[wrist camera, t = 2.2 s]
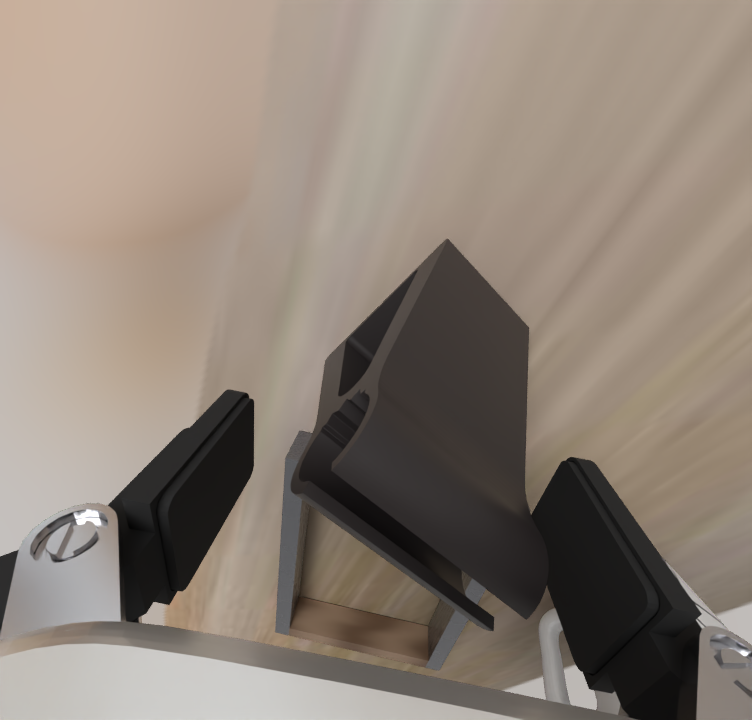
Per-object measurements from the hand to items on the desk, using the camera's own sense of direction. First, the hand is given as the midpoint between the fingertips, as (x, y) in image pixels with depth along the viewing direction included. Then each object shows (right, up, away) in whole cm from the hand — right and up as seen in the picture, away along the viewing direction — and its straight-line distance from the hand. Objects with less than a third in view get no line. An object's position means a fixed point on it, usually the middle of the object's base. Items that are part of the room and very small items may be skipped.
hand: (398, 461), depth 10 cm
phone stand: (+2, +4, +8) cm, 9 cm away
